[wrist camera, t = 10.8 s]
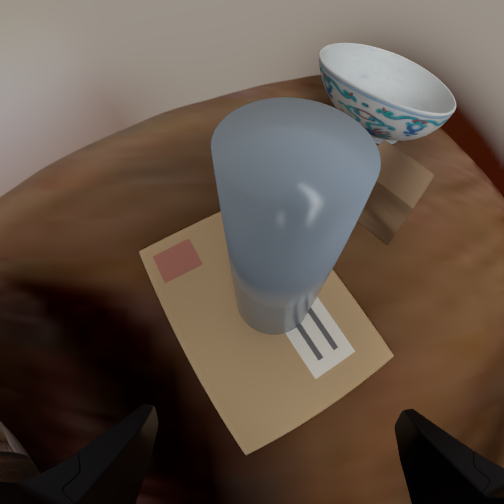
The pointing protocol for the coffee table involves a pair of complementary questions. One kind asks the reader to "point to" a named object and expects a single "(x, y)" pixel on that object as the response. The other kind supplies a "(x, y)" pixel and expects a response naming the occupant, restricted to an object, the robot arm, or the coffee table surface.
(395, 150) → the walnut block
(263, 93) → the coffee table surface
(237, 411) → the envelope
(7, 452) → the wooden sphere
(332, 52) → the chinaware
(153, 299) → the coffee table surface
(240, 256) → the grey cylinder
